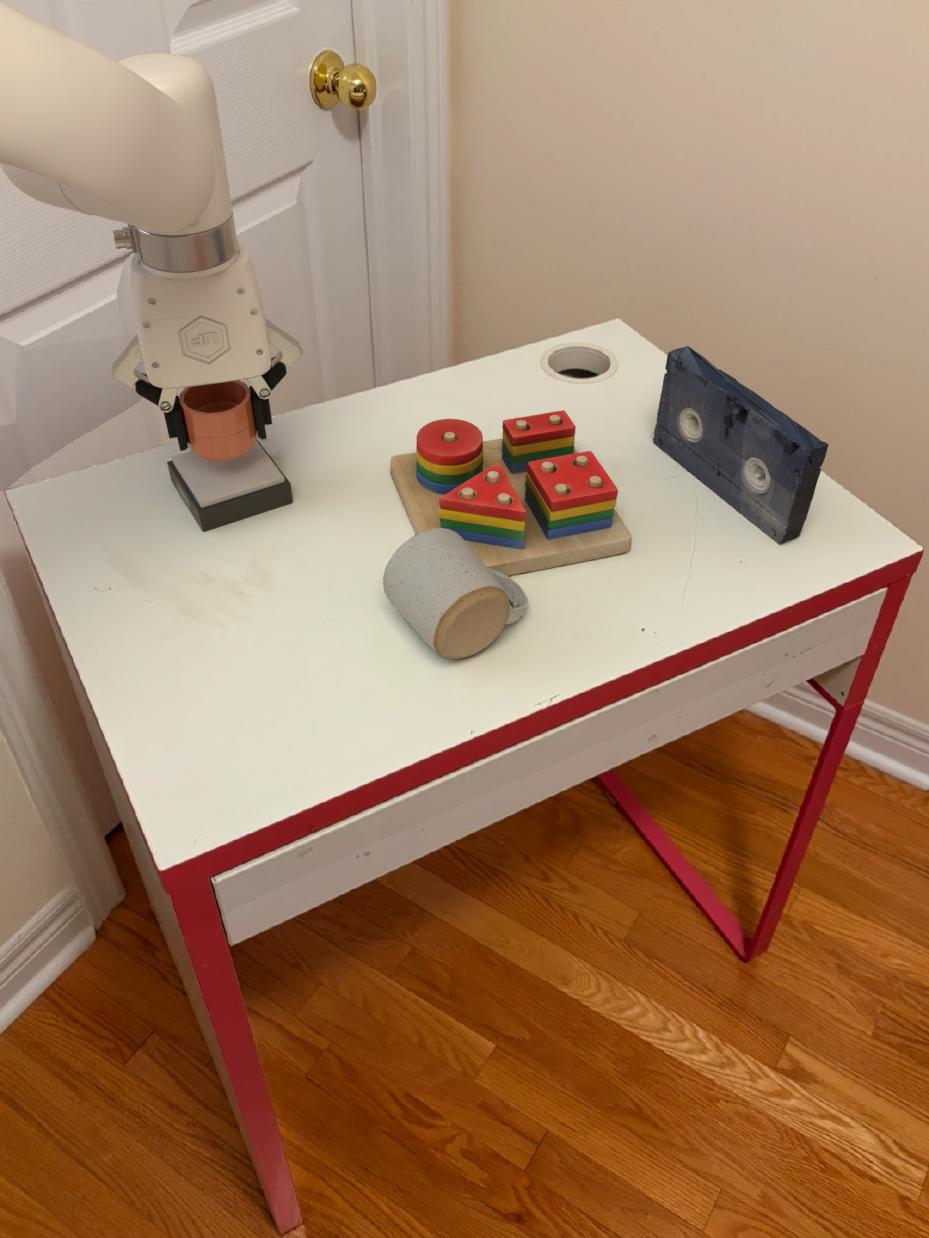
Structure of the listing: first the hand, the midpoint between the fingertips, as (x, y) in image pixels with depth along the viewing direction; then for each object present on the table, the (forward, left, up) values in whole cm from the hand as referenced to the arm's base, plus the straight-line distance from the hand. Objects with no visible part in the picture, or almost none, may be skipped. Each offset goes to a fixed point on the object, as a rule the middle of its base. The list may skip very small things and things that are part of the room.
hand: (222, 434), depth 92 cm
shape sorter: (+25, +4, -6) cm, 26 cm away
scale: (0, 0, -6) cm, 6 cm away
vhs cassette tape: (+44, +13, -6) cm, 46 cm away
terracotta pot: (0, 0, -1) cm, 1 cm away
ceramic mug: (+25, -11, -6) cm, 28 cm away
